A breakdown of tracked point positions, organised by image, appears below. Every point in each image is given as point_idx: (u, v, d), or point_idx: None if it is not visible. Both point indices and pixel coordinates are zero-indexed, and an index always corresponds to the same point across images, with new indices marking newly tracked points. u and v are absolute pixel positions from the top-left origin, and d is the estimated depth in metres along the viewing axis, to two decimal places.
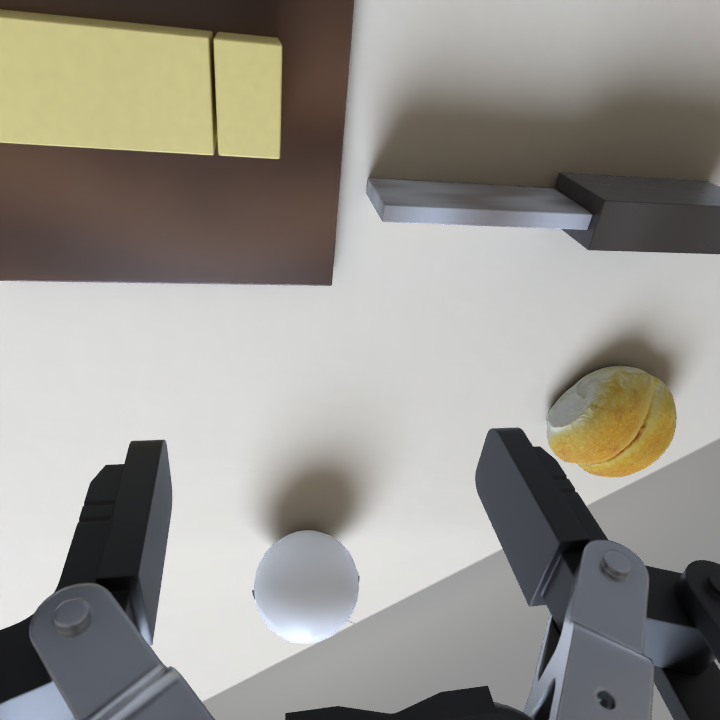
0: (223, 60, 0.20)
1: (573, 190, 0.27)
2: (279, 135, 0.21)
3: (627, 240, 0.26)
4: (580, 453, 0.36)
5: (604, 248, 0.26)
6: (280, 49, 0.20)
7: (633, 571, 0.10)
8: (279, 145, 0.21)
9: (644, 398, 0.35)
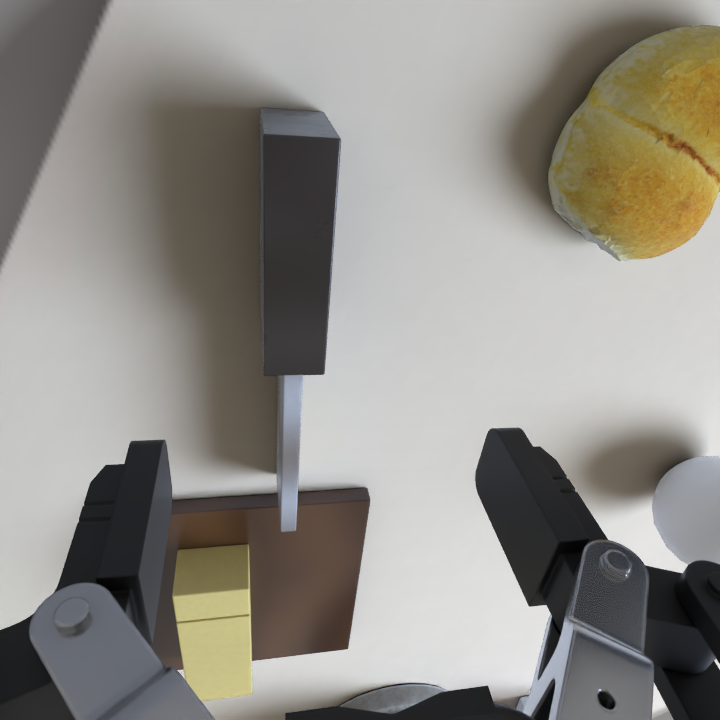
0: (188, 617, 0.30)
1: None
2: (232, 591, 0.29)
3: (312, 335, 0.21)
4: (677, 242, 0.23)
5: (322, 357, 0.21)
6: (175, 597, 0.29)
7: (633, 571, 0.10)
8: (239, 590, 0.30)
9: (607, 154, 0.21)
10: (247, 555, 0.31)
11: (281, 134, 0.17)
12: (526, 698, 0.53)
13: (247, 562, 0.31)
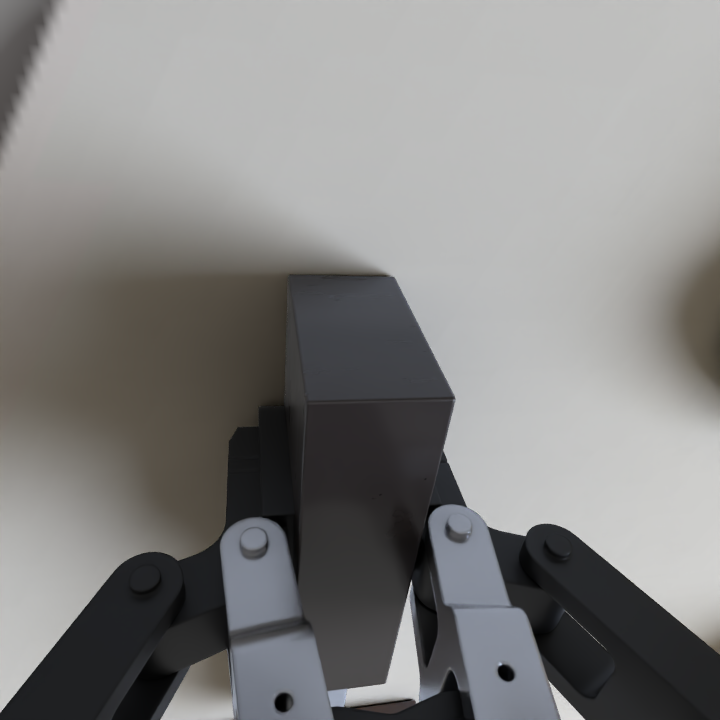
0: None
1: None
2: None
3: (372, 646, 0.12)
4: None
5: (385, 667, 0.13)
6: None
7: (474, 533, 0.11)
8: None
9: None
10: None
11: (341, 397, 0.08)
12: None
13: None
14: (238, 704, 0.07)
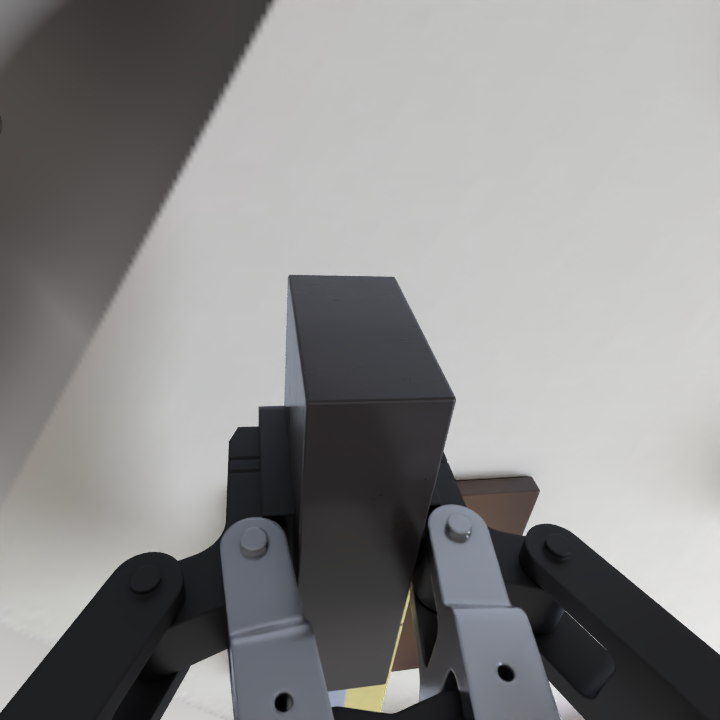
0: None
1: None
2: None
3: (372, 646, 0.12)
4: None
5: (386, 667, 0.13)
6: None
7: (474, 533, 0.11)
8: None
9: None
10: None
11: (341, 397, 0.08)
12: None
13: None
14: (238, 704, 0.07)
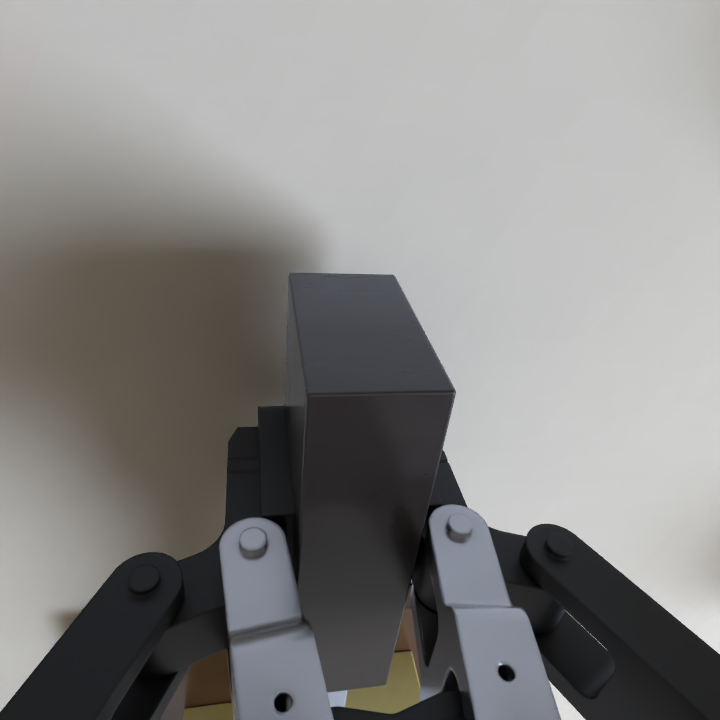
0: None
1: None
2: None
3: (373, 645, 0.12)
4: None
5: (386, 668, 0.13)
6: None
7: (474, 533, 0.11)
8: None
9: None
10: (415, 670, 0.22)
11: (342, 390, 0.08)
12: None
13: (417, 682, 0.22)
14: (238, 704, 0.07)
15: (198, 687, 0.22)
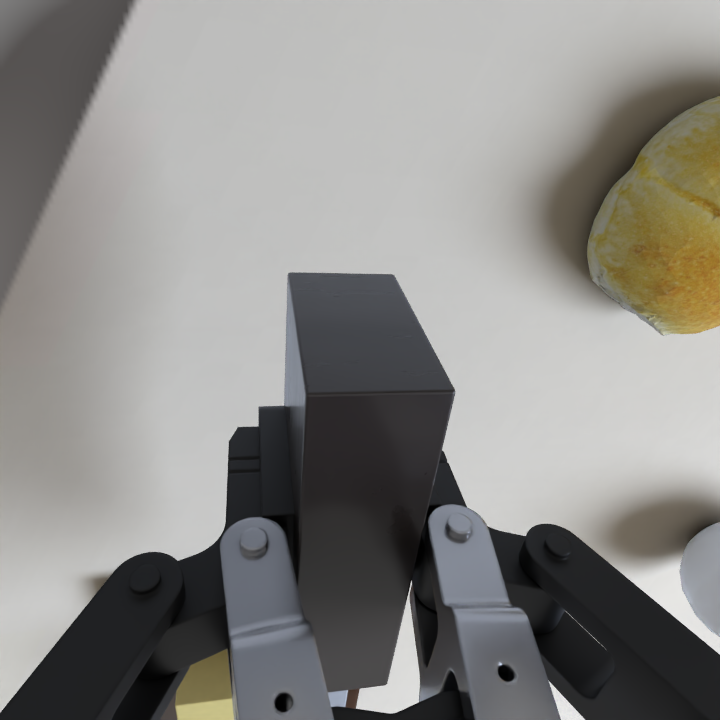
0: None
1: None
2: None
3: (373, 645, 0.12)
4: None
5: (386, 668, 0.13)
6: None
7: (474, 533, 0.11)
8: None
9: (658, 231, 0.19)
10: None
11: (341, 389, 0.08)
12: None
13: None
14: (238, 704, 0.07)
15: None
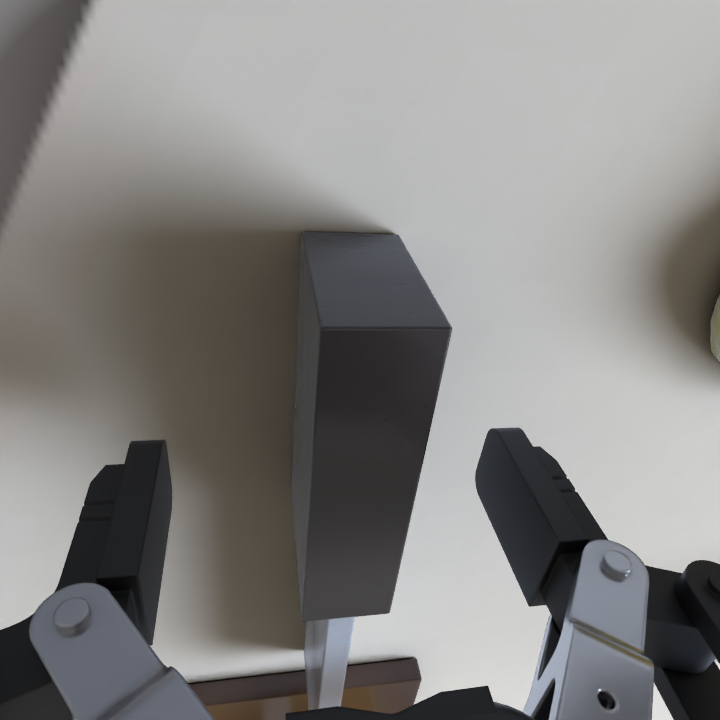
0: None
1: None
2: None
3: (377, 573, 0.14)
4: None
5: (389, 595, 0.14)
6: None
7: (633, 571, 0.10)
8: None
9: None
10: None
11: (351, 325, 0.10)
12: None
13: None
14: None
15: None
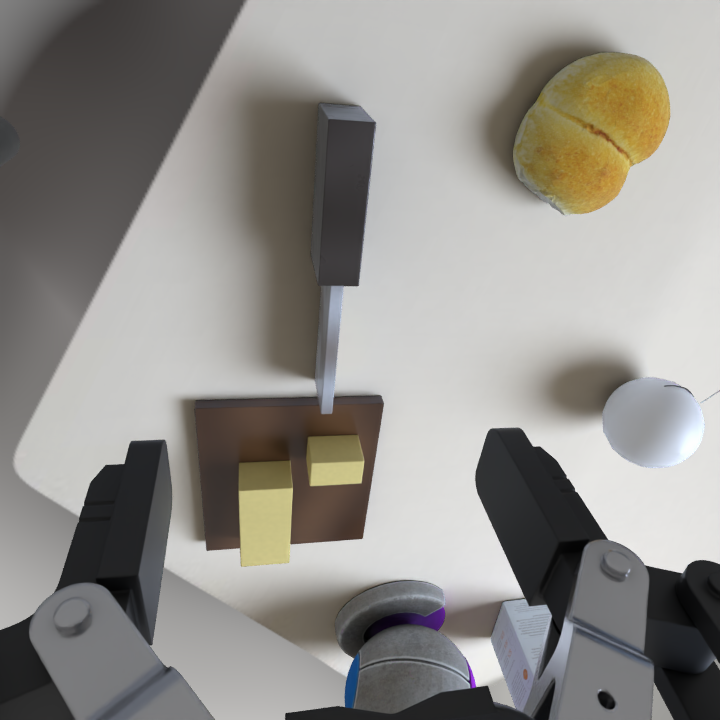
0: (318, 483, 0.41)
1: None
2: (352, 462, 0.41)
3: (352, 256, 0.31)
4: (601, 200, 0.33)
5: (358, 273, 0.32)
6: (313, 464, 0.40)
7: (633, 571, 0.10)
8: (357, 461, 0.41)
9: (549, 137, 0.31)
10: (358, 441, 0.43)
11: (339, 119, 0.27)
12: (508, 602, 0.63)
13: (359, 445, 0.42)
14: None
15: (247, 448, 0.42)
